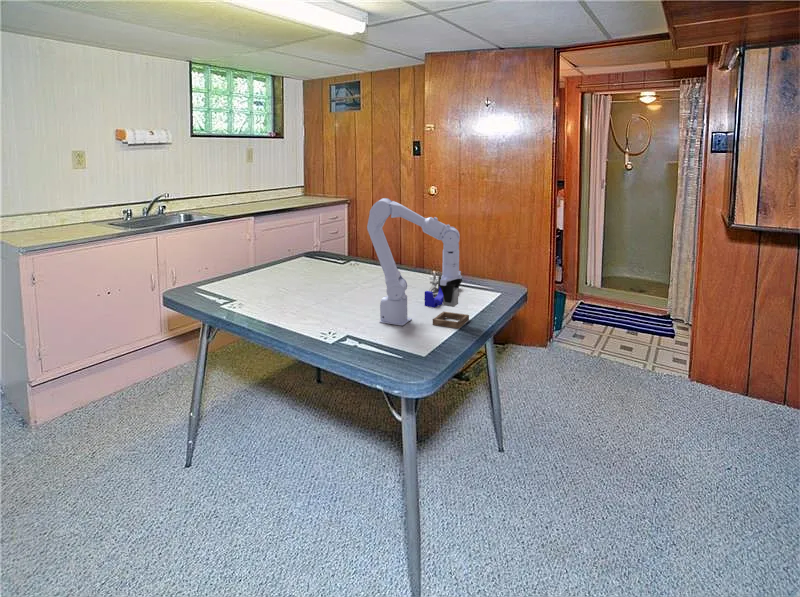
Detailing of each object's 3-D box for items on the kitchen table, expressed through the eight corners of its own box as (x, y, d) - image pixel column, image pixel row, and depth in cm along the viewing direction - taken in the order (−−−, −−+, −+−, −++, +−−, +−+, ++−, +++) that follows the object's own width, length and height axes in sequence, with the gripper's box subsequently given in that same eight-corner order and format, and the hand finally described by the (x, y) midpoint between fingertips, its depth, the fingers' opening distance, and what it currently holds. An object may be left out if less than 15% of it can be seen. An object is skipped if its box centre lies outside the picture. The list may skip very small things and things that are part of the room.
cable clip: (434, 308, 209) (434, 293, 208) (424, 306, 212) (424, 291, 210) (450, 300, 218) (450, 286, 217) (441, 299, 221) (441, 285, 219)
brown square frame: (432, 324, 190) (432, 319, 189) (443, 316, 199) (443, 311, 198) (459, 328, 186) (459, 323, 185) (468, 320, 194) (469, 314, 194)
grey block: (443, 305, 189) (443, 289, 187) (447, 302, 192) (447, 286, 190) (453, 307, 187) (454, 290, 185) (458, 303, 190) (458, 287, 189)
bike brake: (429, 285, 238) (424, 305, 221) (429, 271, 235) (424, 290, 218) (460, 287, 236) (457, 306, 218) (460, 272, 233) (457, 291, 216)
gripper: (453, 268, 177) (453, 307, 181) (469, 259, 190) (468, 296, 193) (434, 266, 180) (434, 304, 184) (450, 258, 193) (450, 294, 197)
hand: (450, 300), depth 189 cm, fingers closed on grey block, 4 cm apart
